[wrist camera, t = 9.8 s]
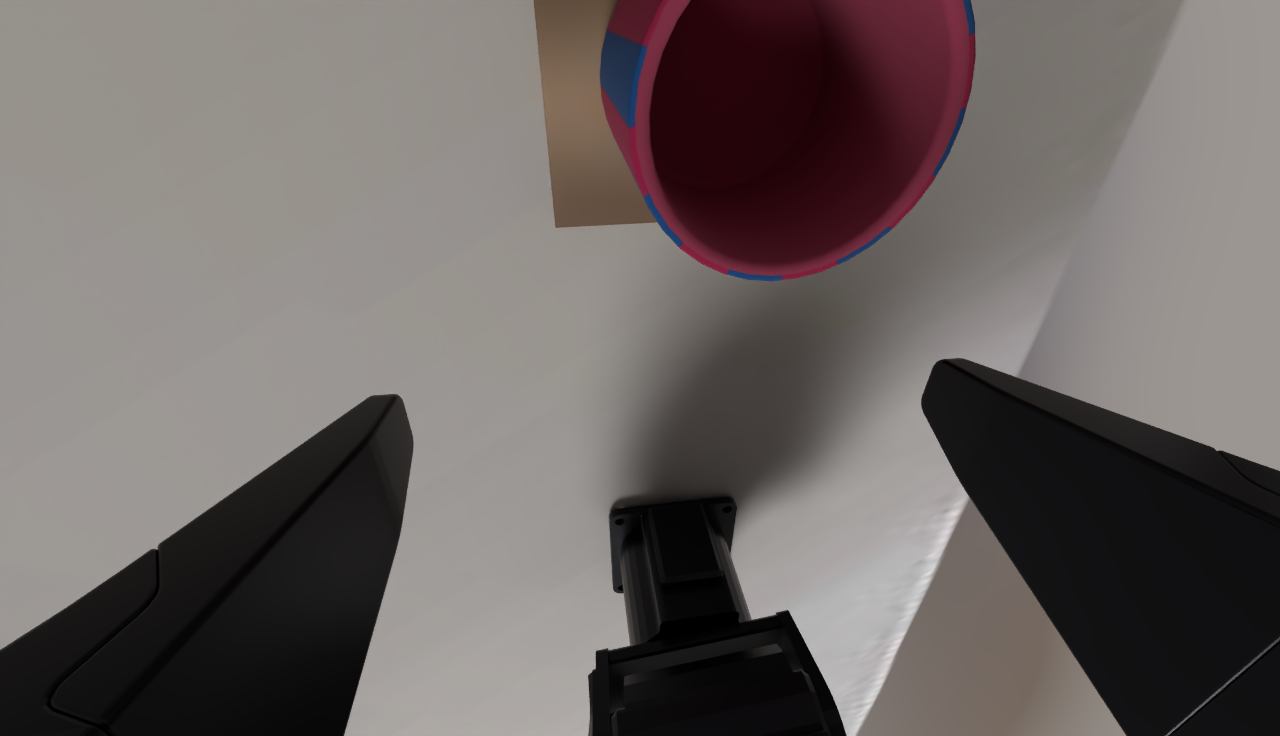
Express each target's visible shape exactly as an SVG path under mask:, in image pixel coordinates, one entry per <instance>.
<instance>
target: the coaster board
mask: <svg viewBox="0 0 1280 736" xmlns="http://www.w3.org/2000/svg"><path fill="white" fill-rule="evenodd" d="M618 1H619V0H534V8H535V19H536V29H537V39H538V50H539V60H540V71H541V81H542V92H543V102H544V112H545V123H546V133H547V144H548V154H549V164H550V175H551V185H552V196H553V206H554V217H555V227H556V228H558V227H577V226H596V225H615V224H634V223H653V222H657V220H656V219H655V217H654V216H653V214H652V213H651V211H650V210H649V208H648V206H647V204H646V202H645V200H644V198H643V196H642V194H641V192H640V190H639V188H638V186H637V184H636V182H635V180H634V178H633V176H632V174H631V171H630V169H629V167H628V165H627V163H626V161H625V159H624V157H623V155H622V153H621V151H620V149H619V147H618V145H617V143H616V141H615V139H614V136H613V134H612V131H611V129H610V127H609V124H608V122H607V119H606V115H605V111H604V107H603V103H602V98H601V86H600V65H601V52H602V47H603V43H604V39H605V35H606V30H607V27H608V24H609V22H610V19H611V17H612V14H613V12H614V10H615V7H616V5H617V3H618Z"/></svg>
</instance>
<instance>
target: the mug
mask: <svg viewBox="0 0 1280 736" xmlns="http://www.w3.org/2000/svg"><path fill="white" fill-rule="evenodd" d="M974 64H975V21H974V16H973V11H972V5H971V0H619V1H618V3H617V5H616V7H615V10H614V12H613V14H612V17H611V19H610V22H609V24H608V27H607V30H606V35H605V39H604V43H603V47H602V52H601V65H600V86H601V98H602V103H603V107H604V111H605V115H606V119H607V122H608V124H609V127H610V129H611V131H612V134H613V136H614V139H615V141H616V143H617V145H618V147H619V149H620V151H621V153H622V155H623V157H624V159H625V161H626V163H627V165H628V167H629V169H630V171H631V174H632V176H633V178H634V180H635V182H636V184H637V186H638V188H639V190H640V192H641V194H642V196H643V198H644V200H645V202H646V204H647V206H648V208H649V210H650V211H651V213H652V214H653V216H654V217H655V219H656V220H657V222H658V224H659V225H660V227H661V228H662V230H663V231H664V232H665V233H666V234H667V235H668V236H669V237H670V238H671V239H672V240H673V241H674V242H675V244H676V245H677V246H678V247H679V248H680V249H681V250H683V251H684V252H686V253H687V254H688V255H690V256H691V257H693V258H694V259H695V260H697V261H698V262H700V263H701V264H703V265H706V266H708V267H710V268H712V269H714V270H716V271H719V272H721V273H723V274H727V275H731V276H735V277H739V278H743V279H749V280H764V281H776V280H785V279H795V278H800V277H803V276H807V275H811V274H815V273H818V272H822V271H824V270H826V269H829V268H831V267H833V266H836V265H838V264H840V263H843V262H845V261H847V260H849V259H850V258H852V257H854V256H855V255H857V254H859V253H860V252H862V251H864V250H865V249H867V248H869V247H870V246H871V245H873V244H874V243H875V242H876V241H878V240H879V239H880V238H881V237H883V236H884V235H885V234H886V233H888V232H889V231H890V230H891V229H893V228H894V227H895V226H896V225H897V224H898V223H899V221H900V220H901V219H902V218H903V217H904V216H905V215H906V214H907V213H908V212H909V211H910V210H911V209H912V208H913V207H914V206H915V205H916V203H917V202H918V201H919V199H920V198H921V197H922V195H923V194H924V193H925V191H926V190H927V189H928V187H929V186H930V185H931V183H932V182H933V181H934V179H935V177H936V175H937V174H938V172H939V170H940V168H941V167H942V165H943V163H944V162H945V160H946V158H947V156H948V155H949V153H950V150H951V148H952V146H953V143H954V141H955V138H956V136H957V134H958V131H959V129H960V127H961V124H962V121H963V118H964V114H965V111H966V107H967V103H968V100H969V96H970V92H971V87H972V79H973V72H974Z"/></svg>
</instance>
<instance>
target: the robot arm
mask: <svg viewBox="0 0 1280 736" xmlns="http://www.w3.org/2000/svg"><path fill="white" fill-rule="evenodd" d="M921 406H922V410H923V413H924V415H925V416H926V418H927V420H928V422H929V424H930V426H931V428H932V430H933V432H934V434H935V436H936V438H937V440H938V441H939V443H940V445H941V447H942V449H943V451H944V453H945V455H946V457H947V459H948V461H949V463H950V464H951V466H952V468H953V470H954V472H955V474H956V476H957V477H958V479H959V481H960V483H961V484H962V486H963V488H964V489H965V491H966V492H967V494H968V496H969V497H970V499H971V500H972V501H973V503H974V505H975V506H976V508H977V509H978V511H979V512H980V514H981V515H982V517H983V518H984V520H985V521H986V523H987V524H988V526H989V528H990V529H991V531H992V532H993V534H994V535H995V537H996V538H997V540H998V541H999V543H1000V544H1001V546H1002V547H1003V549H1004V550H1005V552H1006V553H1007V555H1008V556H1009V558H1010V559H1011V561H1012V562H1013V564H1014V566H1015V567H1016V568H1017V570H1018V572H1019V573H1020V575H1021V576H1022V578H1023V579H1024V581H1025V582H1026V584H1027V585H1028V587H1029V588H1030V590H1031V591H1032V593H1033V594H1034V596H1035V597H1036V599H1037V601H1038V602H1039V603H1040V605H1041V607H1042V608H1043V610H1044V611H1045V613H1046V614H1047V616H1048V617H1049V619H1050V620H1051V622H1052V623H1053V625H1054V626H1055V628H1056V629H1057V631H1058V632H1059V634H1060V635H1061V637H1062V639H1063V640H1064V642H1065V643H1066V645H1067V646H1068V648H1069V649H1070V651H1071V652H1072V653H1073V655H1074V657H1075V658H1076V660H1077V661H1078V663H1079V664H1080V666H1081V667H1082V669H1083V670H1084V672H1085V673H1086V675H1087V676H1088V678H1089V680H1090V681H1091V683H1092V684H1093V686H1094V687H1095V689H1096V690H1097V692H1098V693H1099V695H1100V696H1101V698H1102V699H1103V701H1104V702H1105V704H1106V705H1107V707H1108V708H1109V710H1110V711H1111V713H1112V714H1113V716H1114V718H1115V719H1116V721H1117V722H1118V724H1119V725H1120V727H1121V728H1122V730H1123V731H1124V733H1125V734H1126V736H1280V471H1278V470H1275V469H1272V468H1269V467H1267V466H1263V465H1261V464H1258V463H1255V462H1252V461H1249V460H1246V459H1244V458H1241V457H1238V456H1235V455H1232V454H1230V453H1227V452H1224V451H1216V450H1215V449H1214V448H1212V447H1210V446H1207V445H1204V444H1201V443H1198V442H1195V441H1193V440H1190V439H1188V438H1185V437H1182V436H1179V435H1176V434H1173V433H1171V432H1168V431H1165V430H1162V429H1160V428H1156V427H1154V426H1151V425H1148V424H1146V423H1142V422H1140V421H1137V420H1134V419H1131V418H1129V417H1126V416H1123V415H1120V414H1118V413H1115V412H1112V411H1109V410H1106V409H1103V408H1100V407H1098V406H1095V405H1092V404H1090V403H1086V402H1084V401H1081V400H1078V399H1076V398H1073V397H1070V396H1067V395H1064V394H1061V393H1059V392H1056V391H1053V390H1050V389H1047V388H1044V387H1042V386H1039V385H1036V384H1033V383H1031V382H1028V381H1025V380H1022V379H1019V378H1017V377H1014V376H1011V375H1008V374H1006V373H1003V372H1000V371H997V370H994V369H992V368H989V367H986V366H983V365H980V364H978V363H975V362H972V361H969V360H966V359H962V358H955V359H942V360H939V361H937V362H936V363H935V365H934V366H933V368H932V371H931V374H930V376H929V379H928V382H927V384H926V387H925V390H924V393H923V395H922V400H921ZM412 455H413V435H412V431H411V428H410V424H409V420H408V417H407V413H406V410H405V406H404V403H403V400H402V398H401V397H400V396H399V395H397V394H388V395H373V396H370V397H369V398H367V399H366V400H364V401H363V402H361V403H360V404H358V405H357V406H356V407H354V408H353V409H351V410H350V411H348V412H347V413H346V414H344V415H343V416H341V417H340V418H338V419H337V420H336V421H334V422H333V423H331V424H330V425H328V426H327V427H326V428H324V429H323V430H321V431H320V432H318V433H317V434H316V435H314V436H313V437H311V438H310V439H308V440H307V441H306V442H304V443H303V444H301V445H300V446H298V447H297V448H296V449H294V450H293V451H291V452H290V453H288V454H287V455H286V456H284V457H283V458H281V459H280V460H278V461H277V462H276V463H274V464H273V465H271V466H270V467H268V468H267V469H266V470H264V471H263V472H261V473H260V474H258V475H257V476H256V477H254V478H253V479H251V480H250V481H248V482H247V483H246V484H244V485H243V486H241V487H240V488H238V489H237V490H236V491H234V492H233V493H231V494H230V495H228V496H227V497H226V498H224V499H223V500H221V501H220V502H218V503H217V504H216V505H214V506H213V507H211V508H210V509H208V510H207V511H206V512H204V513H203V514H201V515H200V516H198V517H197V518H196V519H194V520H193V521H191V522H190V523H188V524H187V525H186V526H184V527H183V528H181V529H180V530H178V531H177V532H176V533H174V534H173V535H171V536H170V537H168V538H167V539H166V540H164V541H163V542H161V543H160V544H159V545H158V550H157V549H151V550H150V551H148V552H147V553H145V554H144V555H143V556H141V557H140V558H138V559H137V560H135V561H134V562H133V563H131V564H130V565H128V566H127V567H125V568H124V569H123V570H121V571H120V572H118V573H117V574H115V575H114V576H112V577H111V578H109V579H108V580H106V581H105V582H104V583H102V584H101V585H99V586H98V587H96V588H95V589H93V590H92V591H90V592H89V593H87V594H86V595H84V596H83V597H81V598H80V599H78V600H77V601H76V602H74V603H73V604H71V605H70V606H68V607H67V608H65V609H64V610H62V611H60V612H59V613H57V614H56V615H54V616H53V617H51V618H50V619H48V620H46V621H45V622H43V623H42V624H40V625H39V626H37V627H35V628H34V629H32V630H31V631H29V632H28V633H26V634H25V635H23V636H21V637H20V638H18V639H17V640H15V641H14V642H12V643H10V644H9V645H7V646H6V647H4V648H3V649H1V650H0V736H344V734H345V730H346V727H347V723H348V719H349V716H350V712H351V709H352V705H353V702H354V698H355V695H356V691H357V688H358V684H359V680H360V677H361V673H362V670H363V666H364V663H365V659H366V656H367V652H368V649H369V645H370V641H371V638H372V634H373V631H374V627H375V624H376V620H377V617H378V613H379V610H380V606H381V603H382V599H383V595H384V592H385V588H386V585H387V581H388V578H389V574H390V571H391V567H392V564H393V560H394V556H395V553H396V549H397V545H398V541H399V537H400V533H401V527H402V521H403V515H404V508H405V502H406V495H407V488H408V482H409V475H410V468H411V462H412ZM736 510H737V507H736V504H735V501H734V499H733V498H731V497H720V498H711V499H702V500H693V501H684V502H675V503H666V504H657V505H649V506H640V507H631V508H622V509H616V510H614V511H612V512H611V513H610V514H609V527H610V545H611V563H612V581H613V590H614V591H615V592H616V593H624V599H625V607H626V615H627V623H628V631H629V638H630V646H627V647H623V648H618V649H613V650H608V648H607V649H602V650H598V651H596V669H594V670H593V672H592V673H590V674H589V675H588V680H589V697H590V724H589V734H588V736H846V733H845V729H844V726H843V723H842V720H841V717H840V714H839V712H838V709H837V706H836V704H835V701H834V699H833V696H832V694H831V692H830V690H829V688H828V686H827V684H826V682H825V680H824V678H823V676H822V674H821V672H820V670H819V668H818V666H817V664H816V663H815V661H814V659H813V657H812V655H811V653H810V651H809V649H808V647H807V645H806V643H805V641H804V639H803V637H802V636H801V634H800V632H799V630H798V628H797V626H796V624H795V622H794V620H793V618H792V616H791V614H790V612H789V611H788V610H786V611H781V612H776V615H773V616H768V617H763V618H759V619H754V620H752V619H751V616H750V613H749V610H748V607H747V604H746V601H745V598H744V595H743V592H742V589H741V586H740V583H739V580H738V577H737V574H736V571H735V568H734V565H733V562H732V559H731V555H730V552H731V545H732V538H733V531H734V524H735V517H736ZM619 518H621V519H619Z"/></svg>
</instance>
